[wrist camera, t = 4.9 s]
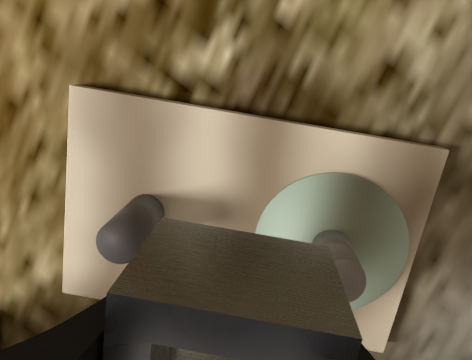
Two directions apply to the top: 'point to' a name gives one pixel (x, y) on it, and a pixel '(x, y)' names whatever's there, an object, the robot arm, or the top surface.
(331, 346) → the steel collar
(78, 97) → the board
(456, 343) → the top surface
